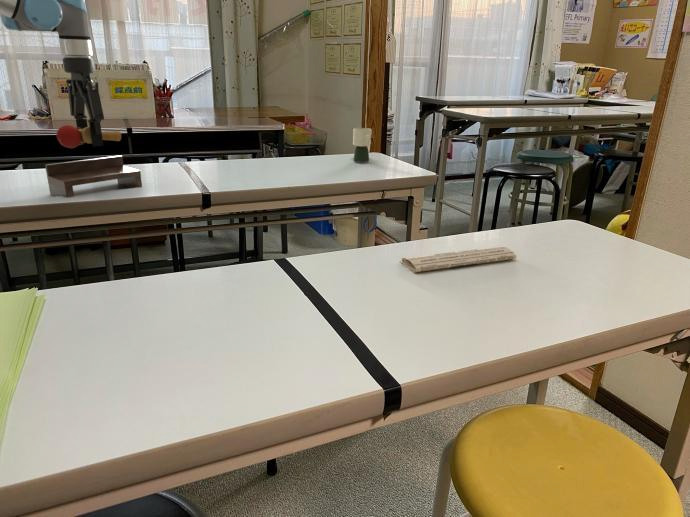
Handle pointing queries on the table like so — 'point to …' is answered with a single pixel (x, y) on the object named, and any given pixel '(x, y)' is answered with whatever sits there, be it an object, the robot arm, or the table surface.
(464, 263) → the newspaper
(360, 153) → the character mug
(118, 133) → the kendama
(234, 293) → the table surface
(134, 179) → the shelf
